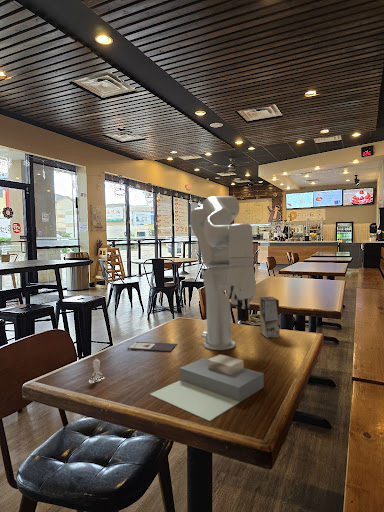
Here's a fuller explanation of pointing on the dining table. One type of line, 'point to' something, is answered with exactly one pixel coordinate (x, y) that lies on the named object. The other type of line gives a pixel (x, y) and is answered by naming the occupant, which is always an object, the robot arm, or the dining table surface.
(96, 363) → the toy figurine
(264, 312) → the coffee box
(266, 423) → the dining table surface
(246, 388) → the slate deck
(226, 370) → the cream tile
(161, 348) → the chocolate bar
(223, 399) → the sage mat
